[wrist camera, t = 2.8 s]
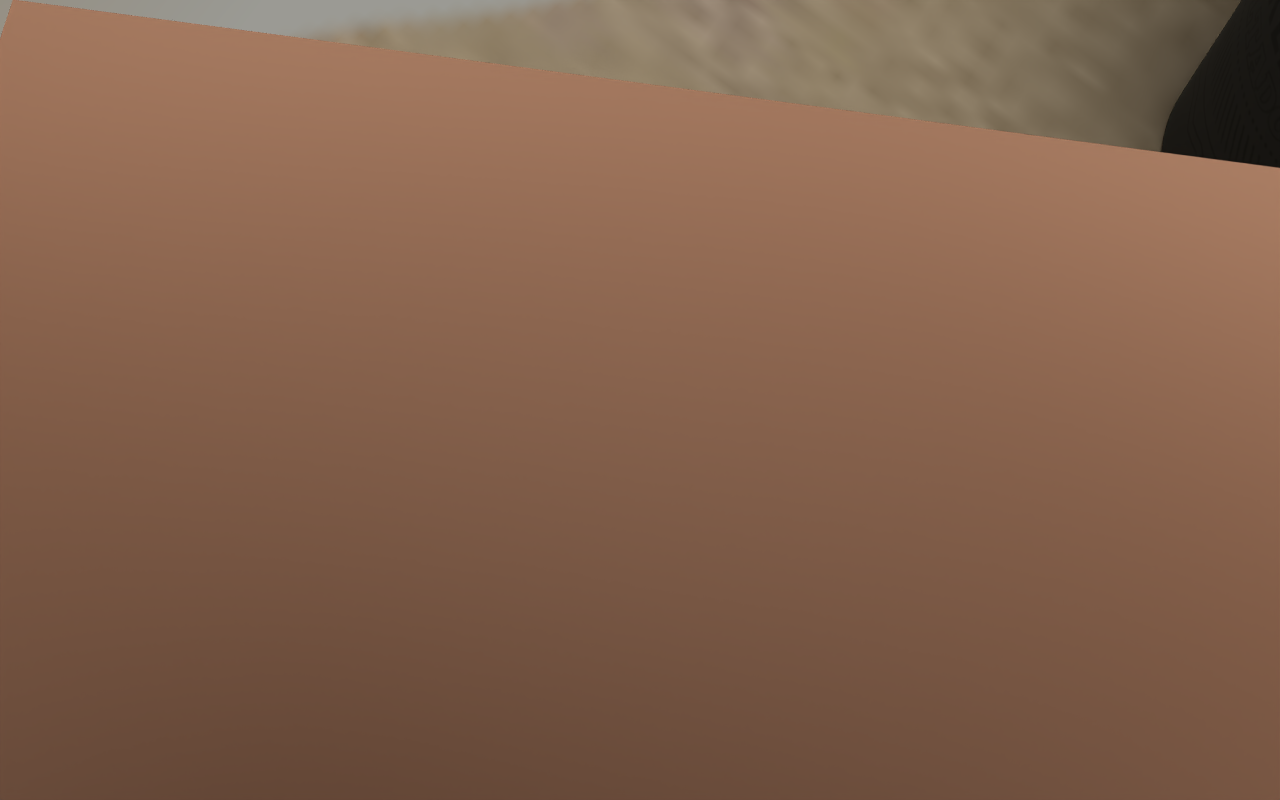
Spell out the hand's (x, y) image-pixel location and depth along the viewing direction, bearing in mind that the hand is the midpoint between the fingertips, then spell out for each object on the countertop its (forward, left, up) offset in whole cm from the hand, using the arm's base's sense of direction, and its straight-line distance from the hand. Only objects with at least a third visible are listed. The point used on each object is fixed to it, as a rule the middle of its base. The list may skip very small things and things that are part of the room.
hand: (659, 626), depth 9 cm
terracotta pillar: (-1, 0, -7) cm, 7 cm away
